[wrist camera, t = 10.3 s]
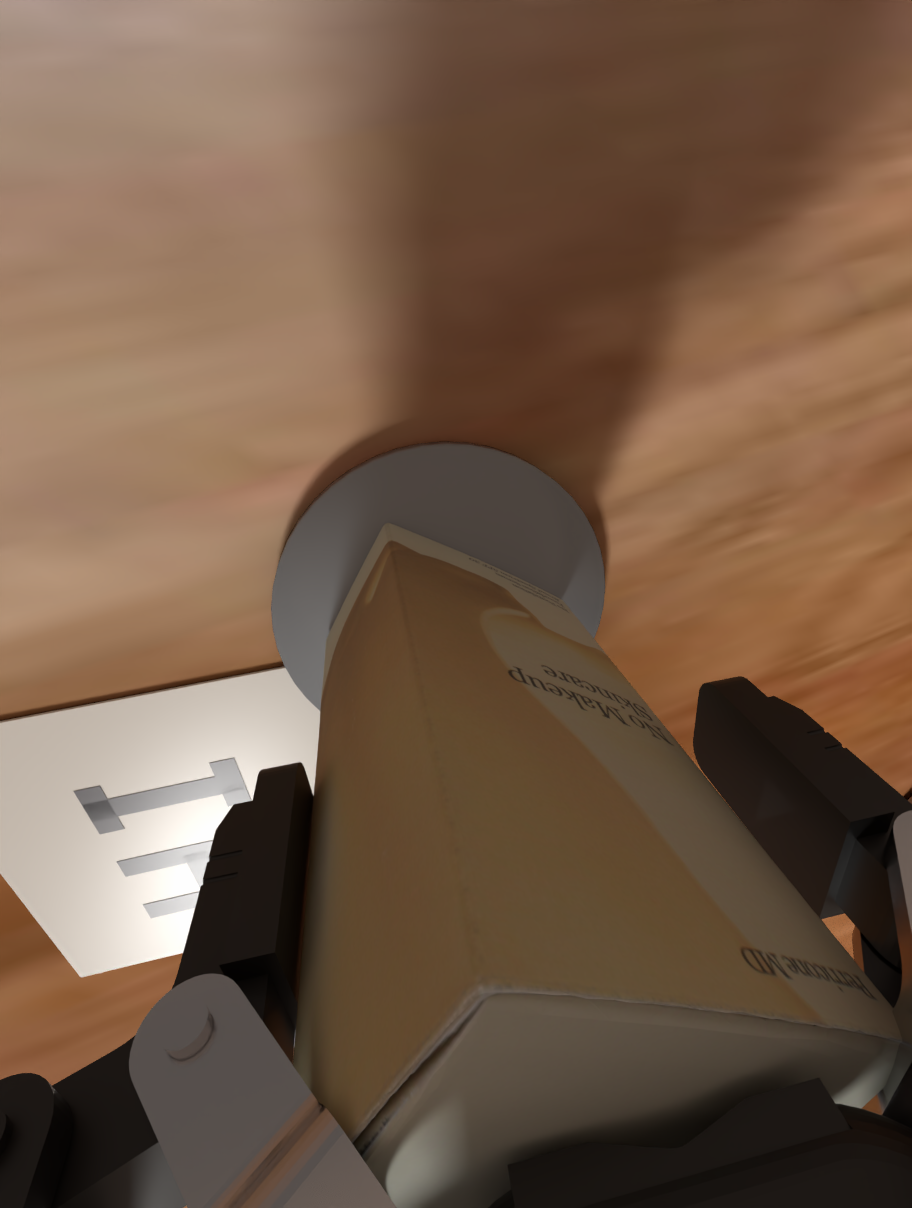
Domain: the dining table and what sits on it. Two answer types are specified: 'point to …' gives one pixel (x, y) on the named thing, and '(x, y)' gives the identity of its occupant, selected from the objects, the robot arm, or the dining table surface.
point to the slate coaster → (438, 512)
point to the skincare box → (537, 901)
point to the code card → (137, 806)
